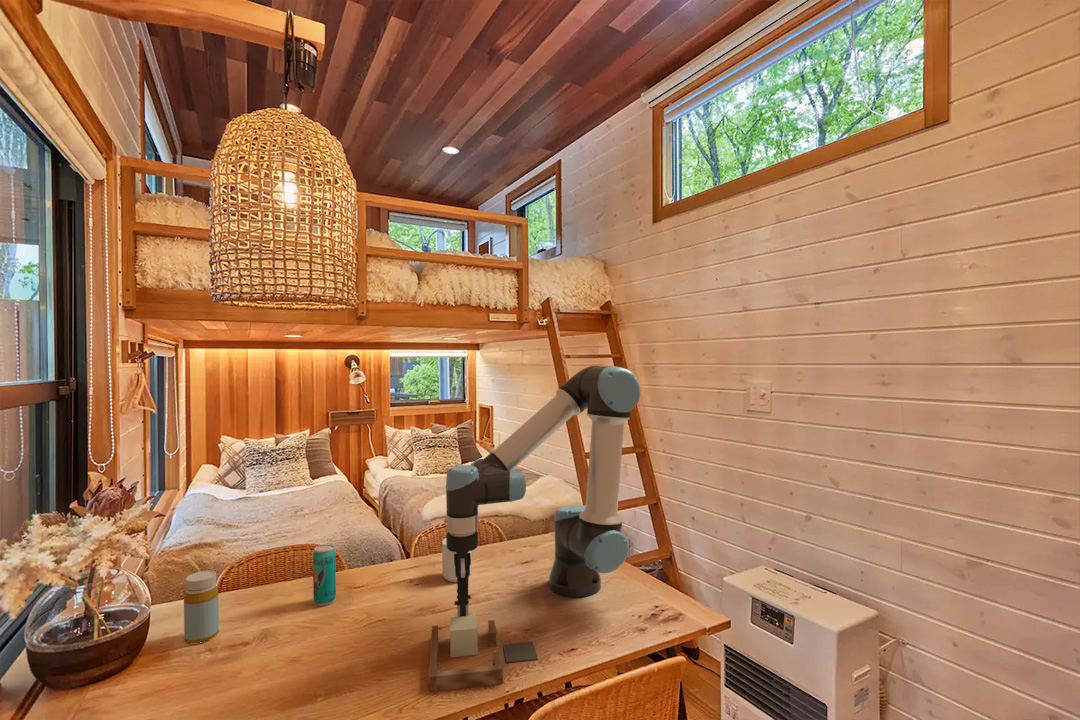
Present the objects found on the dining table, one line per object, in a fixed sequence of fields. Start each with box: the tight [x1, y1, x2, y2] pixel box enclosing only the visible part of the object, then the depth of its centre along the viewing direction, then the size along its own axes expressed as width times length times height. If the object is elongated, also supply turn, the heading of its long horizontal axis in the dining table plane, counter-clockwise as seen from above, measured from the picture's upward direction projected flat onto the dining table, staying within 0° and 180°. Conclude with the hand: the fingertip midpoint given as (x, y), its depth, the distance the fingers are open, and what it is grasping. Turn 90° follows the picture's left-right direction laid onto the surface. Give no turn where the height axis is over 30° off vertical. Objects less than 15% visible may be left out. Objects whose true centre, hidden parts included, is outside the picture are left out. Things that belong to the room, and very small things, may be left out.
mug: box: [441, 538, 473, 583], centre depth 160 cm, size 12×9×11 cm
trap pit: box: [502, 640, 539, 664], centre depth 118 cm, size 7×7×1 cm
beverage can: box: [312, 544, 337, 607], centre depth 142 cm, size 6×6×15 cm
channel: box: [428, 619, 504, 693], centre depth 116 cm, size 15×20×3 cm
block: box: [449, 614, 478, 658], centre depth 120 cm, size 6×6×6 cm
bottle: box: [183, 570, 220, 644], centre depth 125 cm, size 7×7×15 cm
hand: (462, 628), depth 125 cm, fingers closed
